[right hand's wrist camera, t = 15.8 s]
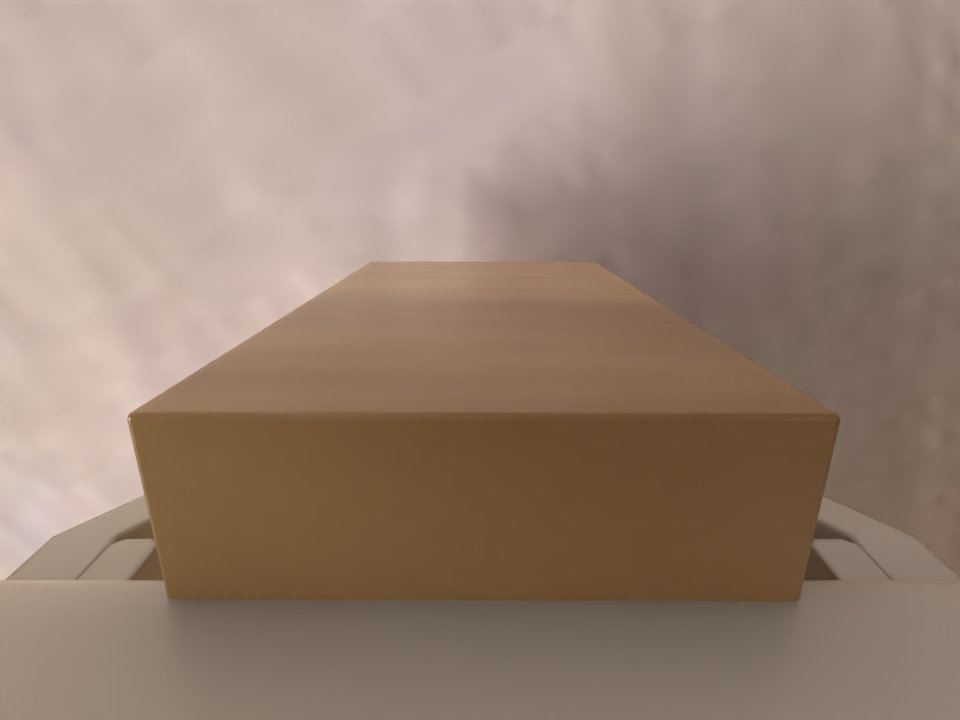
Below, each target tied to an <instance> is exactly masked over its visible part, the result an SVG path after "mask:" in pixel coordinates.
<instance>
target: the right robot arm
mask: <svg viewBox="0 0 960 720" xmlns="http://www.w3.org/2000/svg"><path fill="white" fill-rule="evenodd" d="M0 720H960V577H959V576H958V575H957V574H956V573H955V572H954V571H953V570H951V569H950V568H949V567H948V566H947V565H946V564H945V563H944V562H943V561H941V560H940V559H939V558H938V557H937V556H936V555H935V554H934V553H932V552H931V551H930V550H929V549H928V548H927V547H926V546H925V545H923V544H922V543H921V542H920V541H919V540H918V539H917V538H916V537H913V536H911V535H909V534H907V533H904V532H902V531H900V530H898V529H896V528H893V527H891V526H889V525H887V524H884V523H882V522H880V521H878V520H876V519H873V518H871V517H869V516H867V515H864V514H862V513H860V512H858V511H856V510H853V509H851V508H849V507H847V506H844V505H842V504H840V503H838V502H836V501H833V500H831V499H829V498H827V497H824V496H823V497H822V502H821V506H820V510H819V515H818V519H817V524H816V528H815V532H814V537H813V541H812V545H811V550H810V554H809V559H808V563H807V567H806V572H805V576H804V581H803V585H802V589H801V594H800V598H799V600H797V601H601V600H307V599H170V598H167V593H166V589H165V584H164V580H163V575H162V571H161V566H160V562H159V558H158V553H157V549H156V544H155V540H154V535H153V531H152V526H151V522H150V518H149V513H148V509H147V504H146V500H145V495H144V496H142V497H140V498H137V499H135V500H133V501H131V502H129V503H126V504H124V505H122V506H120V507H118V508H115V509H113V510H111V511H109V512H107V513H104V514H102V515H100V516H98V517H96V518H93V519H91V520H89V521H87V522H85V523H82V524H80V525H78V526H76V527H73V528H71V529H69V530H67V531H65V532H62V533H60V534H58V535H56V536H54V537H52V538H51V539H50V540H49V541H48V542H47V543H46V544H44V545H43V546H42V547H41V548H40V549H39V550H38V551H37V552H36V553H34V554H33V555H32V556H31V557H30V558H29V559H28V560H27V561H26V562H24V563H23V564H22V565H21V566H20V567H19V568H18V569H17V570H16V571H15V572H13V573H12V574H11V575H10V576H9V577H8V578H7V579H6V580H0Z"/></svg>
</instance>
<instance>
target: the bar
mask: <svg viewBox="0 0 960 720" xmlns="http://www.w3.org/2000/svg"><path fill="white" fill-rule="evenodd" d="M839 422H840V419H839V416H838V414H837V413H835V412H833V411H832V410H830V409H829V408H827V407H825V406H824V405H822V404H821V403H819V402H817V401H816V400H814V399H813V398H811V397H810V396H808V395H806V394H805V393H803V392H802V391H800V390H798V389H797V388H795V387H794V386H792V385H790V384H789V383H787V382H786V381H784V380H782V379H781V378H779V377H778V376H776V375H774V374H773V373H771V372H770V371H768V370H766V369H765V368H763V367H762V366H760V365H758V364H757V363H755V362H754V361H752V360H750V359H749V358H747V357H746V356H744V355H742V354H741V353H739V352H738V351H736V350H734V349H733V348H731V347H730V346H728V345H726V344H725V343H723V342H722V341H720V340H719V339H717V338H715V337H714V336H712V335H711V334H709V333H707V332H706V331H704V330H703V329H701V328H699V327H698V326H696V325H695V324H693V323H691V322H690V321H688V320H687V319H685V318H683V317H682V316H680V315H679V314H677V313H675V312H674V311H672V310H671V309H669V308H667V307H666V306H664V305H663V304H661V303H659V302H658V301H656V300H655V299H653V298H651V297H650V296H648V295H647V294H645V293H643V292H642V291H640V290H639V289H637V288H635V287H634V286H632V285H631V284H629V283H628V282H626V281H624V280H623V279H621V278H620V277H618V276H616V275H615V274H613V273H612V272H610V271H608V270H607V269H605V268H604V267H602V266H600V265H599V264H597V263H596V262H370V263H369V264H367V265H365V266H364V267H362V268H361V269H359V270H357V271H356V272H354V273H353V274H351V275H350V276H348V277H346V278H345V279H343V280H342V281H340V282H338V283H337V284H335V285H334V286H332V287H330V288H329V289H327V290H326V291H324V292H322V293H321V294H319V295H318V296H316V297H314V298H313V299H311V300H310V301H308V302H306V303H305V304H303V305H302V306H300V307H298V308H297V309H295V310H294V311H292V312H290V313H289V314H287V315H286V316H284V317H282V318H281V319H279V320H278V321H276V322H275V323H273V324H271V325H270V326H268V327H267V328H265V329H263V330H262V331H260V332H259V333H257V334H255V335H254V336H252V337H251V338H249V339H247V340H246V341H244V342H243V343H241V344H239V345H238V346H236V347H235V348H233V349H231V350H230V351H228V352H227V353H225V354H223V355H222V356H220V357H219V358H217V359H215V360H214V361H212V362H211V363H209V364H208V365H206V366H204V367H203V368H201V369H200V370H198V371H196V372H195V373H193V374H192V375H190V376H188V377H187V378H185V379H184V380H182V381H180V382H179V383H177V384H176V385H174V386H172V387H171V388H169V389H168V390H166V391H164V392H163V393H161V394H160V395H158V396H156V397H155V398H153V399H152V400H150V401H148V402H147V403H145V404H144V405H142V406H141V407H139V408H137V409H136V410H134V411H133V412H131V413H130V414H129V415H128V424H129V429H130V433H131V437H132V442H133V446H134V451H135V455H136V460H137V464H138V469H139V473H140V477H141V482H142V486H143V491H144V495H145V500H146V504H147V509H148V513H149V518H150V522H151V526H152V531H153V535H154V540H155V544H156V549H157V553H158V558H159V562H160V566H161V571H162V575H163V580H164V584H165V589H166V593H167V598H170V599H307V600H601V601H797V600H799V598H800V594H801V589H802V585H803V581H804V576H805V572H806V567H807V563H808V559H809V554H810V550H811V545H812V541H813V537H814V532H815V528H816V524H817V519H818V515H819V510H820V506H821V502H822V497H823V493H824V488H825V484H826V480H827V475H828V471H829V466H830V462H831V458H832V453H833V449H834V444H835V440H836V436H837V431H838V427H839Z"/></svg>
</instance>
